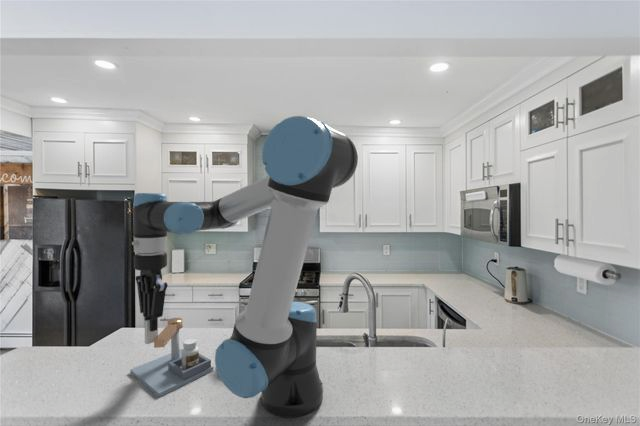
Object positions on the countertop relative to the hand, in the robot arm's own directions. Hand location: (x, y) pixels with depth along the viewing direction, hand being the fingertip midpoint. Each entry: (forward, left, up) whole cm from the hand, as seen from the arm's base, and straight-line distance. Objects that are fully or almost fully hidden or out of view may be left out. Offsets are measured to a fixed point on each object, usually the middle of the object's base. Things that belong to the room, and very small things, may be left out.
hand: (151, 341), depth 79 cm
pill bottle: (-3, -9, -10) cm, 14 cm away
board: (+1, -6, -11) cm, 13 cm away
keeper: (+2, -5, -1) cm, 6 cm away
